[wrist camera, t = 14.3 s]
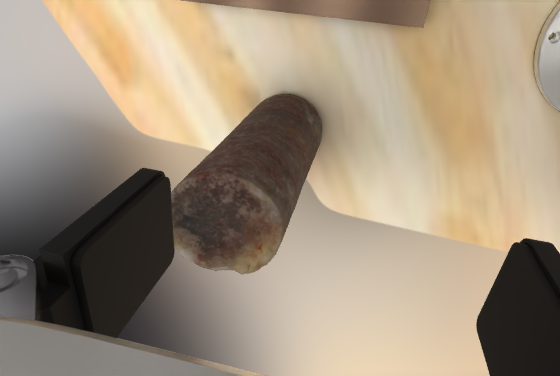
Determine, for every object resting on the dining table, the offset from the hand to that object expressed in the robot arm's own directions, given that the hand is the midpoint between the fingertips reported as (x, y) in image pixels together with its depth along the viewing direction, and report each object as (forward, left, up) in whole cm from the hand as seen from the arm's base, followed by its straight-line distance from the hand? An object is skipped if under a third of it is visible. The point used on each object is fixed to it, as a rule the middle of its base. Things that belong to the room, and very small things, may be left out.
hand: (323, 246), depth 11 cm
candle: (+6, +7, -28) cm, 30 cm away
